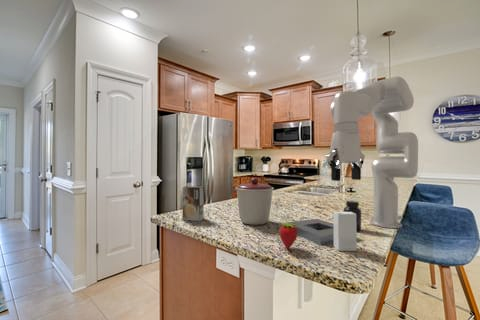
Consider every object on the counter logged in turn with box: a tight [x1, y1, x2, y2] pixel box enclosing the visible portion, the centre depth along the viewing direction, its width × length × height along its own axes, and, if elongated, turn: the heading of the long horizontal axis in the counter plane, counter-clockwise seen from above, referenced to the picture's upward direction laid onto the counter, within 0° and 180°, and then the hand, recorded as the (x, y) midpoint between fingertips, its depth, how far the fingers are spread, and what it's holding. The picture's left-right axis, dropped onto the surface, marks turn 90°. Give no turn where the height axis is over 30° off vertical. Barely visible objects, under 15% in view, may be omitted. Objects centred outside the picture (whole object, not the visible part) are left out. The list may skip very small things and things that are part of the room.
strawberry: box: [278, 219, 298, 250], centre depth 77 cm, size 6×8×10 cm
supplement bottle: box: [343, 200, 362, 232], centre depth 100 cm, size 7×7×12 cm
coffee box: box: [182, 185, 205, 222], centre depth 115 cm, size 9×6×16 cm
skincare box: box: [332, 211, 358, 252], centre depth 77 cm, size 6×4×12 cm
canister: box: [235, 177, 275, 226], centre depth 110 cm, size 18×18×21 cm
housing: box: [286, 218, 334, 246], centre depth 93 cm, size 18×20×3 cm
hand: (346, 180), depth 78 cm, fingers open, 9 cm apart
